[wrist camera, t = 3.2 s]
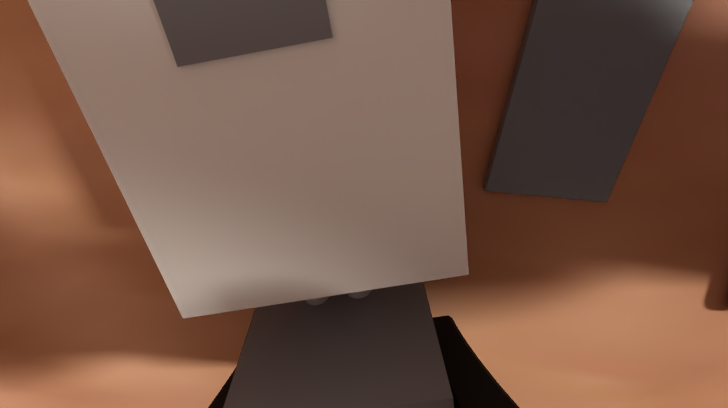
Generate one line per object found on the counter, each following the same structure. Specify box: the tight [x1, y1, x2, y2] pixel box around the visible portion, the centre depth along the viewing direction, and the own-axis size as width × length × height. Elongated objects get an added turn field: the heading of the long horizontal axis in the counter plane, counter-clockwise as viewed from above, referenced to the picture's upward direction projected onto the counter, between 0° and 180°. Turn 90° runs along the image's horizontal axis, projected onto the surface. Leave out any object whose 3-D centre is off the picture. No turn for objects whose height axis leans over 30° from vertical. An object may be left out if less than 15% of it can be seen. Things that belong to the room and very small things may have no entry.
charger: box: [223, 282, 454, 408], centre depth 10 cm, size 6×4×5 cm
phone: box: [483, 0, 694, 202], centre depth 10 cm, size 7×4×1 cm, turn 173°
